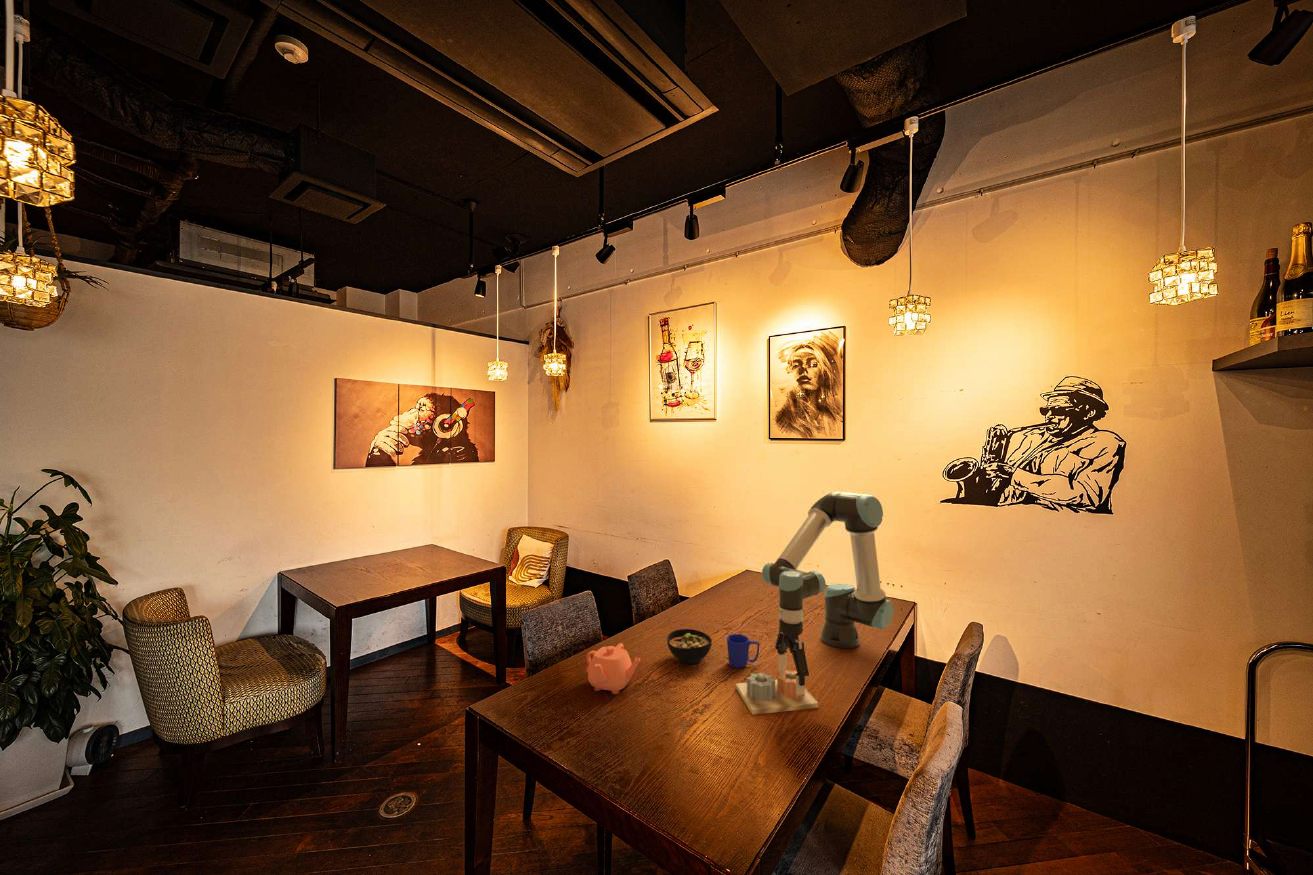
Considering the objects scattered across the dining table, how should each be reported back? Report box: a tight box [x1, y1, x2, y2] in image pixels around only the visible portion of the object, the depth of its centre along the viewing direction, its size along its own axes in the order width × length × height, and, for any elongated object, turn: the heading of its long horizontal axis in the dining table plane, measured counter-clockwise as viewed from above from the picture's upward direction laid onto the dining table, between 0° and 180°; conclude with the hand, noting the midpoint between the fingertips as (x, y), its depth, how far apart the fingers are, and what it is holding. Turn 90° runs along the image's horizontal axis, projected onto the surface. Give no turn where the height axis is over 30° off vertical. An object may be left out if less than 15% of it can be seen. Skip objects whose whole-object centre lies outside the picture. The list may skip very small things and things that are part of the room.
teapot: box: [586, 642, 641, 695], centre depth 168 cm, size 16×17×14 cm
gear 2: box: [776, 670, 805, 699], centre depth 162 cm, size 9×9×5 cm
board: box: [735, 673, 819, 716], centre depth 161 cm, size 22×16×7 cm
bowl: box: [666, 628, 713, 667], centre depth 187 cm, size 17×17×10 cm
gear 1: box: [746, 672, 776, 702], centre depth 160 cm, size 9×9×5 cm
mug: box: [726, 633, 760, 669], centre depth 183 cm, size 8×12×10 cm
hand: (791, 683), depth 162 cm, fingers open, 13 cm apart
